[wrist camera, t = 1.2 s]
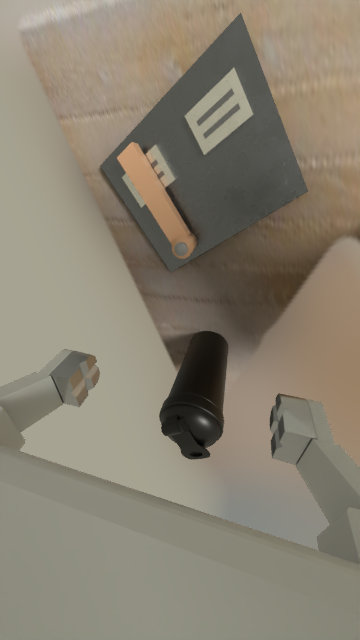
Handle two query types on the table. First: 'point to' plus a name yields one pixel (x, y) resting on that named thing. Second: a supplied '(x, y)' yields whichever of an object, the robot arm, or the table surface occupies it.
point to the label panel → (213, 149)
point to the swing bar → (157, 200)
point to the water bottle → (197, 397)
